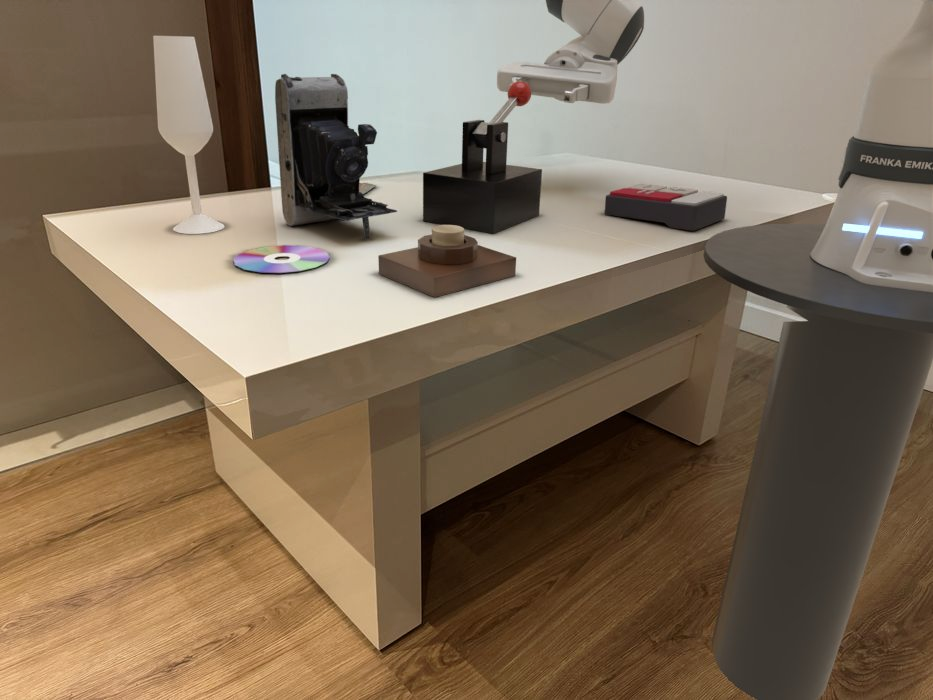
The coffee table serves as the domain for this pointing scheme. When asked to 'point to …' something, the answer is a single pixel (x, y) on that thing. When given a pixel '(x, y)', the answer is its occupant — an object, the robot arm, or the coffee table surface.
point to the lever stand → (482, 186)
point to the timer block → (446, 266)
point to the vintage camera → (321, 153)
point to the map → (365, 187)
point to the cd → (267, 263)
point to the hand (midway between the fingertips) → (540, 94)
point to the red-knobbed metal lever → (504, 110)
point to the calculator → (667, 205)
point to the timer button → (448, 235)
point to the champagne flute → (184, 115)
